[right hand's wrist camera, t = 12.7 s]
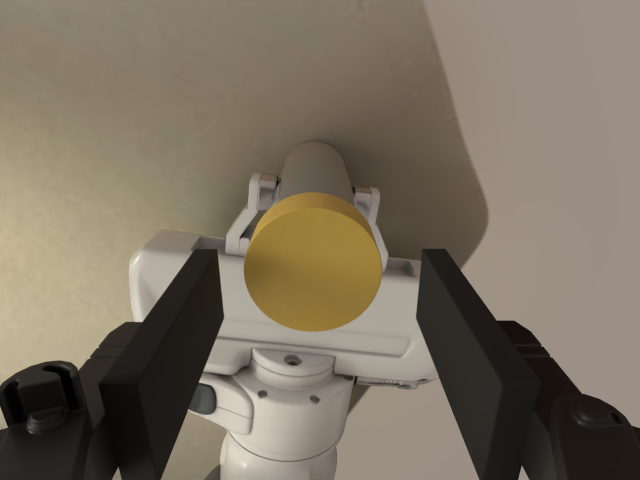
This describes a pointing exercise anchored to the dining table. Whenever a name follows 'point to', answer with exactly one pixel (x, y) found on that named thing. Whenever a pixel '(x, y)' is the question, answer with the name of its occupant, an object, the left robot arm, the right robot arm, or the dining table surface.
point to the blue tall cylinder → (314, 173)
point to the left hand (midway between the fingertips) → (315, 182)
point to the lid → (313, 263)
